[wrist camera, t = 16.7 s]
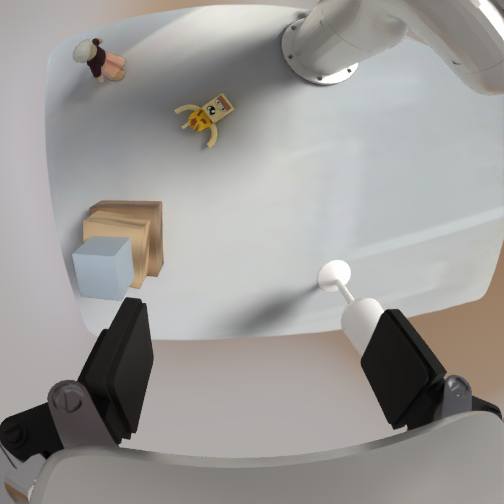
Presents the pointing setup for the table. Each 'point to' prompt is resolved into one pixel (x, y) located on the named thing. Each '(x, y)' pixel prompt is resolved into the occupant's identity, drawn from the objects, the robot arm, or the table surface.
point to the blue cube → (104, 267)
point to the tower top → (123, 227)
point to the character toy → (207, 115)
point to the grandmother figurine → (99, 60)
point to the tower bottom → (148, 211)
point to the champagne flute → (351, 305)
